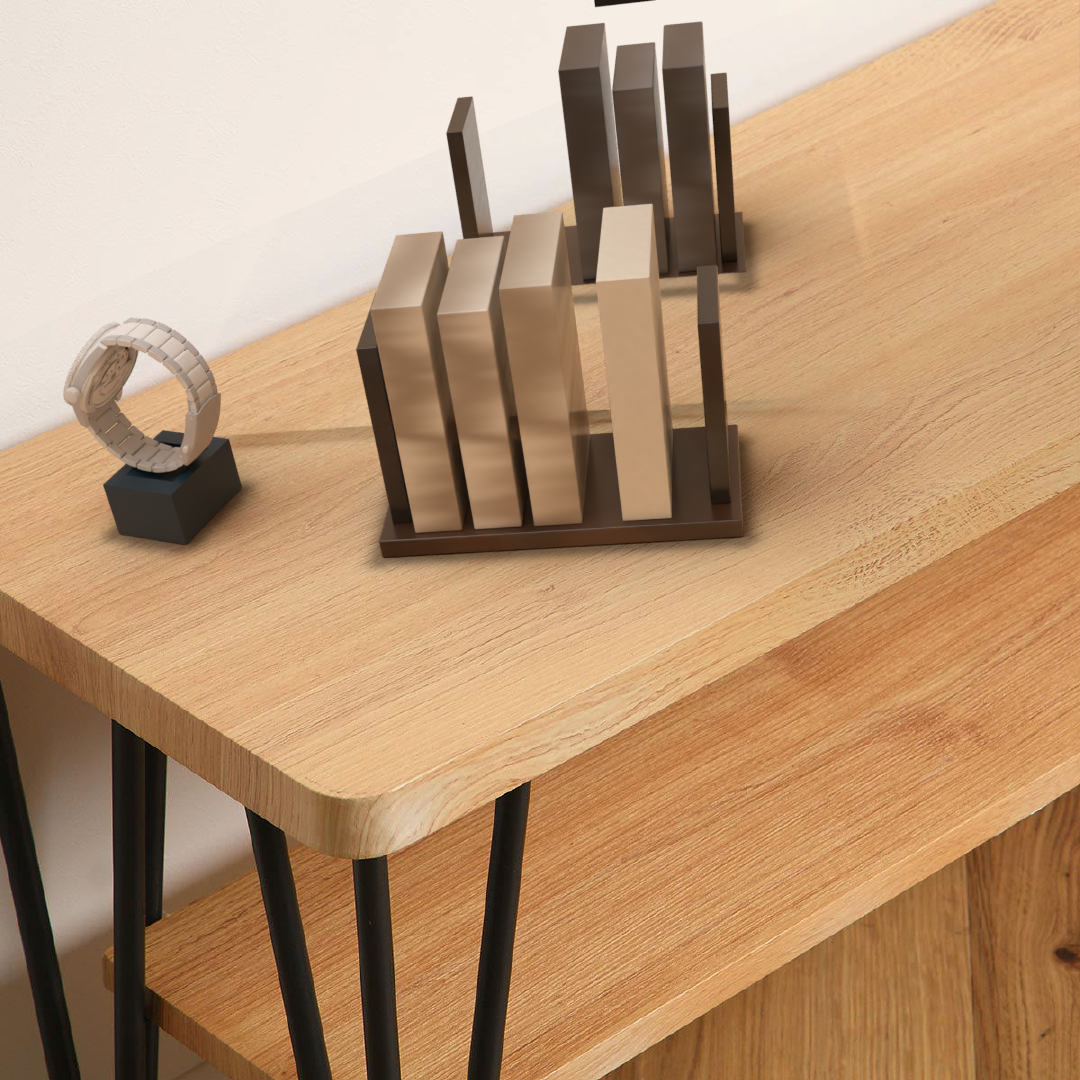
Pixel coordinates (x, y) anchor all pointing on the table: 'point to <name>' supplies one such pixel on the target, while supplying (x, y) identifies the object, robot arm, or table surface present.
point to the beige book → (636, 360)
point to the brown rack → (517, 405)
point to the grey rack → (629, 152)
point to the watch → (171, 457)
